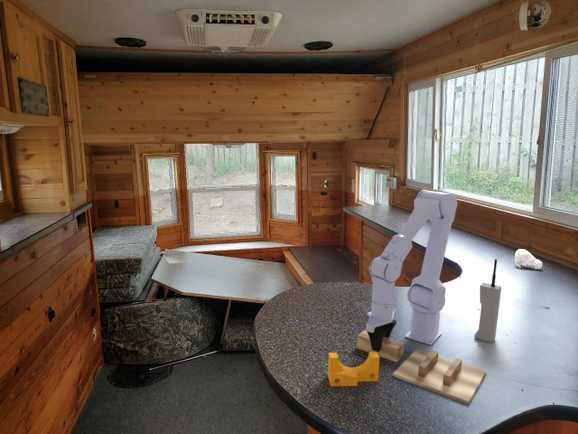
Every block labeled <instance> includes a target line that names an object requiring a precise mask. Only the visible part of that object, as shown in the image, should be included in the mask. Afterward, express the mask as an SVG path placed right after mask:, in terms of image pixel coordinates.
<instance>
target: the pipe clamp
mask: <svg viewBox="0 0 578 434" xmlns="http://www.w3.org/2000/svg"><path fill="white" fill-rule="evenodd" d="M380 359H381V357H380V356H379V355H378V354H377V352H368V356H367V358H366V359H365V360H364V362H363V363H362V364H359V365H358V366H354V367H349V366H347V365H344V364H342V362H341V361H340V360H339V355H338V353H337V352H328V364H327V379H328V381H329V385H330V387H357V386H358V383H359V382H360V383H361V382H379V374H380V373H379V372H380V371H379V369H380Z"/></svg>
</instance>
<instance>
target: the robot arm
mask: <svg viewBox="0 0 578 434" xmlns="http://www.w3.org/2000/svg"><path fill="white" fill-rule="evenodd" d="M458 204H459V203H458V200H457V198H456V197H455V195H454V194H453V193H452V192H447V193H446V192H440V191H432V190H427V189H422V190H420V191H419V192H418V193H417V195H416V198H415V199H414V200H413V206H414V208H413V210H412V212H411V214H410V215H409V217H408V219H407V221H406V223H405V224H404V226H403V228H402V230H401V232H400V233H399V234H395V235H393V237H392V238H391V239H390V241H389V242H388V243H387V246H386V247H385V248H384V250H383V251H382V253H381V255H379V256H377V257H375V258H373V260H372V261H371V262H370V266H369V267H368V272H369V274H370V275H371V276H370V277H371V282H372V294H371V310H370V311H368V312H367V313H366V314H367V317H369V318H368V322H367V323H366V324H365V326H364V330H365V331H367V333H368V335H369V338H370V342H371V347H372V350H374V351H377V352H379V351H380V349H381V345H382V340H383V337H386V338H389V339H391V338H390V337H391V334H392V332H393V329H394V328H395V327H396V325H397V320H395V319H394V317H396V312H397V309H396V308H394V300H395V286H396V285H395V284H396V281H397V280H398V278H400V276H401V272H402V267H403V263H404V261H405V259H406V257H408V254H409V253H410V251H411V250H412V248H413V243H412V240H414V238H415V237H416V235H417V234H418V233H419V231H420V230H421V229H422V228H423V227H424V225H425V224H426V222H427V221H429V222H430V224H431V226H430V230H429V235H428V240H427V244H426V249H425V253H424V258H423V262H422V265H421V266H422V267H421V271H420V275H418V276H416V277H415V278H412V280H411V284H410V286H409V288H408V289H407V294H406V297H407V301H408V302H409V303H410V305H409V306H410V307H411V308H412V309H411V321H410V331H408V332H407V333H406V334H405V335H404V336H405V338H407V339H409V340H410V339H411V340H413V341H416V342H420V343H423V344H425V345H426V344H427V345H430V346H432V345H433V344H434V343H435V342H436V341H437V339H438V338H439V337H440V336H441V335H442V332H440V331H439V330H440V329H439V328H440V318H441V317H440V316H441V313H440V312H441V311H443V309H444V307H445V305H446V290H447V289H446V287H445V285H444V284H443V283H442V282H441V280H440V277H441V272H442V268H443V262H444V260H445V255H446V249H447V246H448V245H447V244H448V241H449V237H450V232H451V228H452V224H453V223H454V220H455V217H456V212H457V207H458Z"/></svg>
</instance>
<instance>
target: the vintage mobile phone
mask: <svg viewBox="0 0 578 434" xmlns="http://www.w3.org/2000/svg"><path fill="white" fill-rule="evenodd" d="M497 263H498V259H497V258H495V259H494V263H493V272H492V277H491V278H492V279H491V283H487V282H483V283H481V284H480V286H479V303H480V306H481V307H480V314H479V323H478V329H477V331H476V332H475V333H474V339H476V340H479V341H483V342H486V343H490V344H493V342H494V341H495V340H496V334H497V329H498V328H497V327H498V317H499V310H500V302H501V301H500V300H501V294H502V287H501V286H500V285H496V278H497V277H496V271H497Z"/></svg>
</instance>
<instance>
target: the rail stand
mask: <svg viewBox="0 0 578 434" xmlns="http://www.w3.org/2000/svg"><path fill="white" fill-rule="evenodd" d="M486 374H487V371H486V370H483V369H479V368H476V367H474V366H470V365H467V364H465V363H463V360H462V359H460V358H457V357H455V359H454V360H452V359H449V358H445V357H442V356H440V355H439V351H435V350H432V351H431V352H427V351H424V350H421V349H418V348H417V349H415V350H414V351H413V352H412V353H411V354H410V355H409V356H408V357H407V358H406V359H405V360H404V362H402V363H401V365H400V366H399V367H398V368H397V369H396V370H394V372H393V373H392V377H394V378H397V379H399V380H402V381H404V382H406V383H407V382H408V383H410V384H413V385H416V386H418V387H420V388H423V389H425V390H429V391H431V392H433V393H436V394H439V395H442V396H445V397H447V398H450V399H453V400H455V401H457V402H460V403H463V404H464V405H467V406H468V405H469V404H470V403H471V401H472V399H473V398H474V396H475V394H476V392H477V391H478V388H479V387H480V385H481V383H482V382H483V380H484V379H485V376H486Z"/></svg>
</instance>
